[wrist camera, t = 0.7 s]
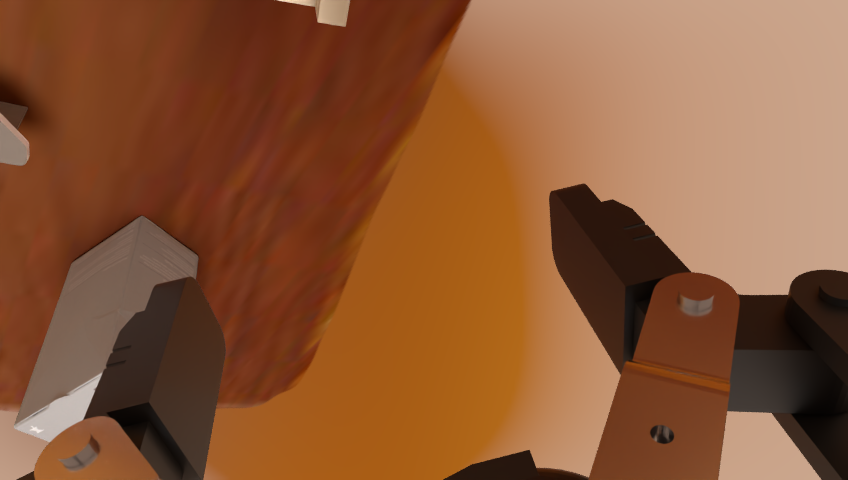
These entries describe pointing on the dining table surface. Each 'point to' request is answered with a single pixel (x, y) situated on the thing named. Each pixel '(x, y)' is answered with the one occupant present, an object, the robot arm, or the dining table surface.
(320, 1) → the bracket
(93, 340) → the skincare box
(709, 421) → the robot arm
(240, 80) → the dining table surface
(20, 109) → the platform
